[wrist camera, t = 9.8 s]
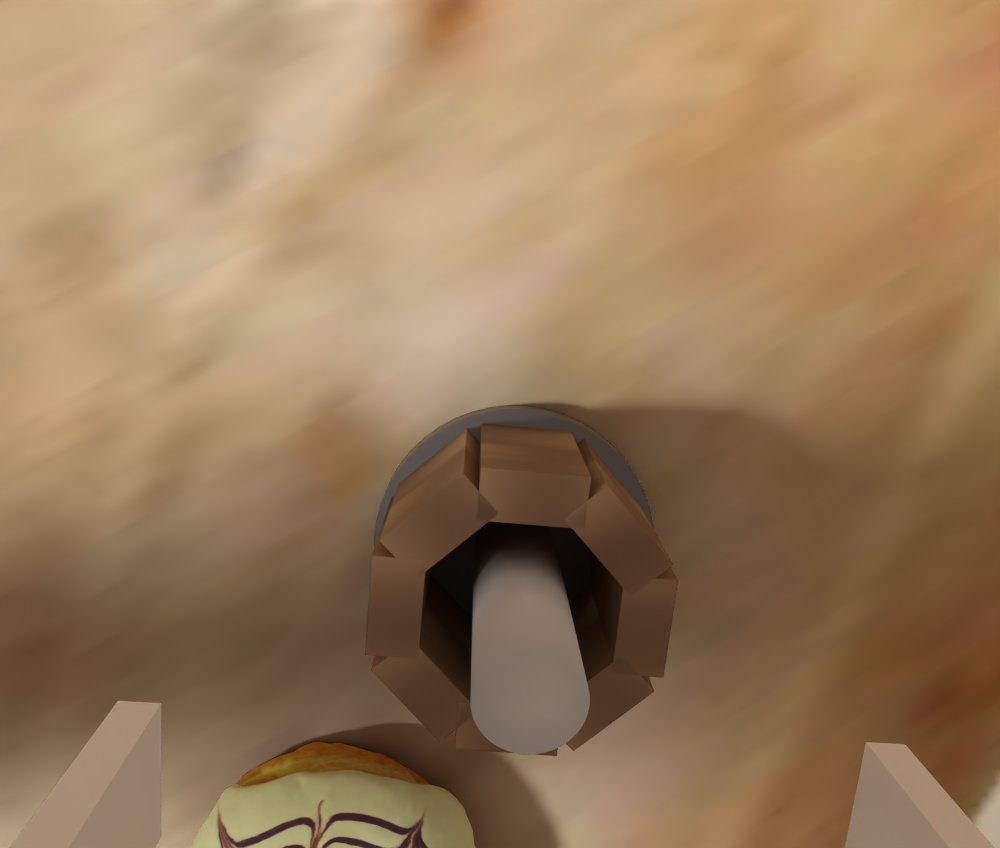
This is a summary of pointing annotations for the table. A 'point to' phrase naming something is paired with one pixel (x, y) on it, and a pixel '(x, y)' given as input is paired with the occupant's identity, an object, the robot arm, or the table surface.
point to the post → (521, 598)
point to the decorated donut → (335, 805)
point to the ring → (521, 500)
